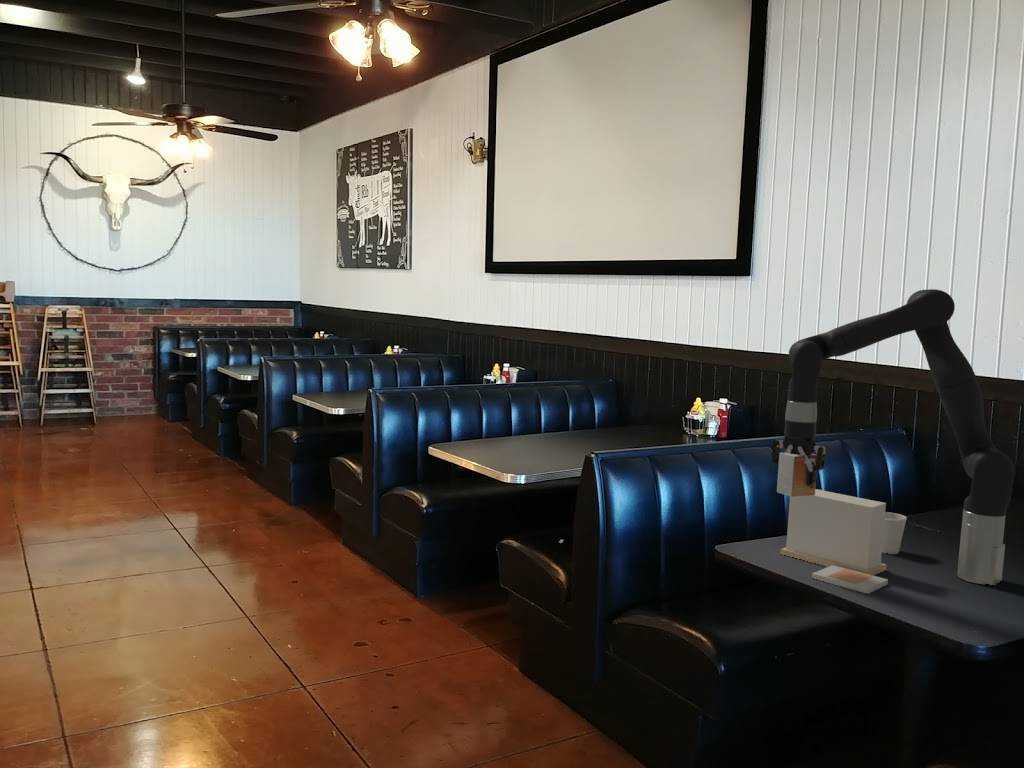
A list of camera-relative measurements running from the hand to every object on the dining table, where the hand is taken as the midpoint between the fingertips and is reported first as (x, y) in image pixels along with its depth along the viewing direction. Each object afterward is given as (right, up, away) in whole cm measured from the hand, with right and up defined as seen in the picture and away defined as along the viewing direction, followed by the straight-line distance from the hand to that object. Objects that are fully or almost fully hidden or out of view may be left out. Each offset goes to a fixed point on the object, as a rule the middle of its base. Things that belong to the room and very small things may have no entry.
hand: (796, 483), depth 219 cm
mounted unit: (+11, -21, +6) cm, 25 cm away
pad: (+10, -23, -10) cm, 27 cm away
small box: (0, -3, 0) cm, 3 cm away
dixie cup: (+31, -21, +18) cm, 42 cm away
